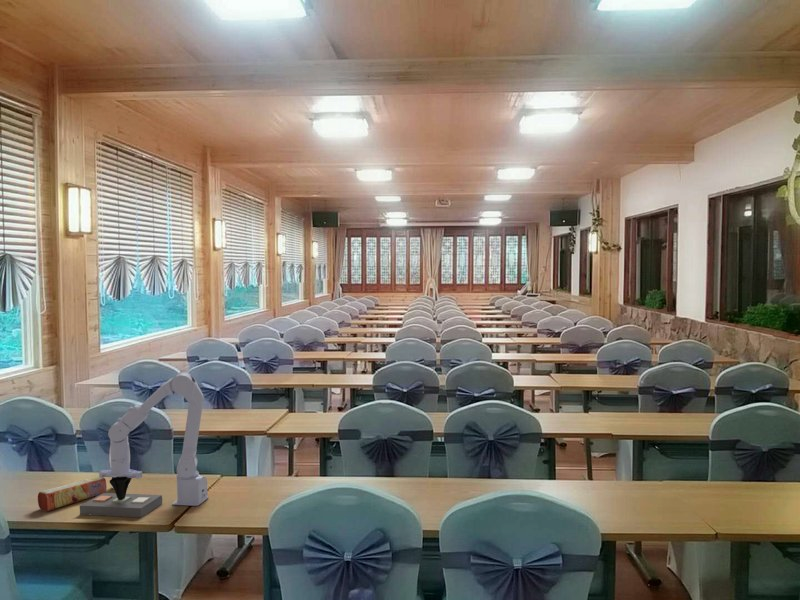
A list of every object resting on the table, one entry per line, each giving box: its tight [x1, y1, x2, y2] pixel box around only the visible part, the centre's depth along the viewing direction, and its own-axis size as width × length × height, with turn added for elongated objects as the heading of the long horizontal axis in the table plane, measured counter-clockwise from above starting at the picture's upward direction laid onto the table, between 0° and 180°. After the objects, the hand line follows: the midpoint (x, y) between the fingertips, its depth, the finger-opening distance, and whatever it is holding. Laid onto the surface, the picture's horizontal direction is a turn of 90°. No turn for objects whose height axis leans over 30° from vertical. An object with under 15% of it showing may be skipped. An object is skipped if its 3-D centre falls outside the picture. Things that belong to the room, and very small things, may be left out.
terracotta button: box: [93, 496, 112, 502], centre depth 200 cm, size 4×4×3 cm
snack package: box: [37, 475, 107, 512], centre depth 208 cm, size 21×7×7 cm, turn 147°
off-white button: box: [132, 497, 150, 504], centre depth 198 cm, size 4×4×3 cm
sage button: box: [112, 497, 131, 503], centre depth 199 cm, size 4×4×3 cm
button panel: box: [79, 492, 163, 518], centre depth 199 cm, size 22×12×3 cm, turn 80°
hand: (121, 498), depth 199 cm, fingers closed, pressing on sage button
